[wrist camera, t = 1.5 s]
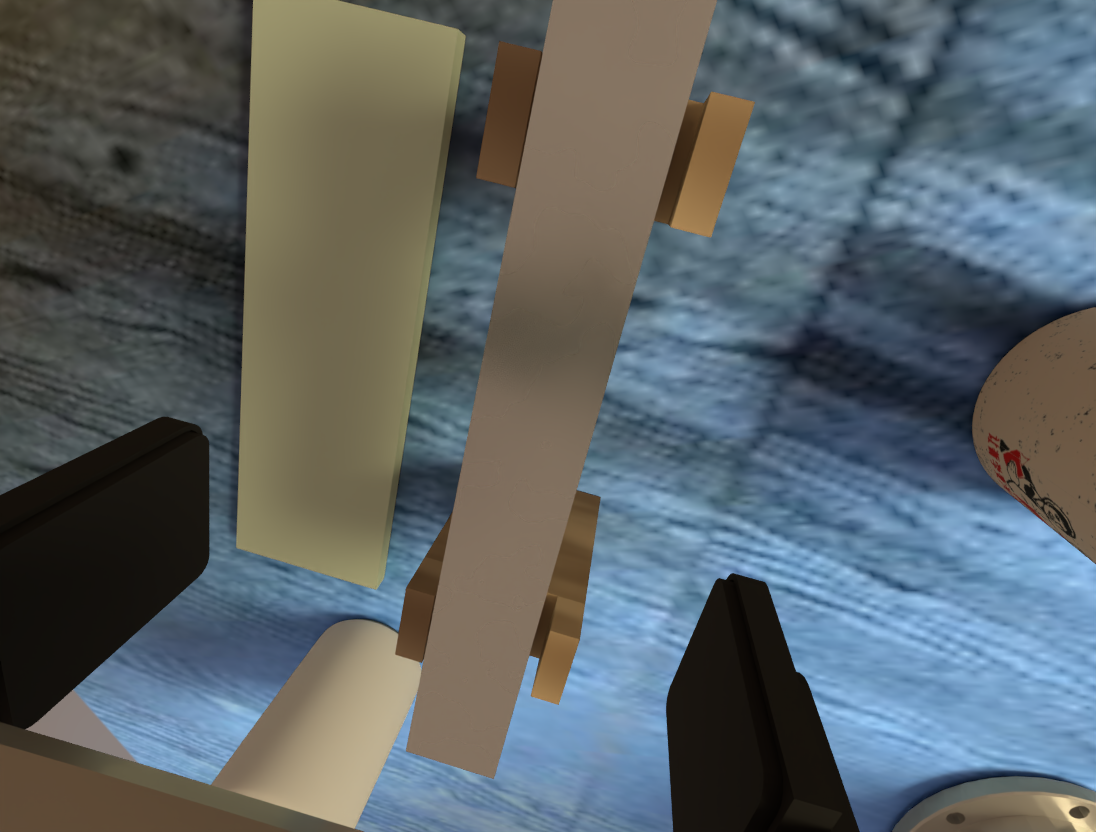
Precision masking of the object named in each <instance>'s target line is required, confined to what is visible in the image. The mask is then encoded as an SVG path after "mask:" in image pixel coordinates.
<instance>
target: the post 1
mask: <svg viewBox="0 0 1096 832" xmlns="http://www.w3.org/2000/svg"><path fill="white" fill-rule="evenodd" d="M600 498H601V497H598V496H595V495H591V494H588V493H584V492H581V491H577V490H576V494H575V497H574V501H573V504H572V508H571V511H570V515H569V518H568V522H567V525H566V529H565V532H564V536H563V539H562V543H561V546H560V550H559V553H558V557H557V560H556V564H555V567H554V571H553V574H552V578H551V581H550V585H549V588H548V592H547V595H546V599H545V602H544V606H543V609H542V613H541V616H540V619H539V623H538V626H537V630H536V633H535V637H534V640H533V644H532V647H531V651H530V654H529V655H530V656H533V657H536V658H539V663H538V667H537V671H536V676H535V680H534V685H533V689H532V693H531V696H532V697H535V698H538V699H541V700H545V701H548V702H551V703H554V704H558V705H559V702H560V699H561V696H562V693H563V689H564V686H565V683H566V680H567V677H568V674H569V671H570V668H571V665H572V662H573V659H574V656H575V653H576V650H577V646H578V643H579V640H580V635H581V628H582V621H583V614H584V607H585V600H586V593H587V587H588V580H589V573H590V566H591V559H592V552H593V545H594V539H595V532H596V525H597V518H598V511H599V504H600ZM452 514H453V512H452ZM452 514H451V515H450V517H449V518H448V520H447V522H446V523H445V525H444V527H443V528H442V530H441V532H440V533H439V535H438V537H437V538H436V540H435V541H434V543H433V545H432V546H431V548H430V550H429V551H428V553H427V555H426V556H425V558H424V559H423V561H422V563H421V564H420V566H419V568H418V569H417V571H416V573H415V574H414V576H413V578H412V579H411V581H410V582H409V584H408V586H407V587H406V593H405V598H404V604H403V610H402V616H401V622H400V628H399V634H398V639H397V645H396V651H395V655H398V656H401V657H404V658H408V659H411V660H414V661H417V662H421V663H422V661H423V659H424V656H425V651H426V646H427V641H428V636H429V631H430V626H431V621H432V615H433V610H434V605H435V600H436V595H437V590H438V585H439V580H440V575H441V570H442V565H443V559H444V554H445V549H446V544H447V539H448V534H449V529H450V524H451V519H452Z"/></svg>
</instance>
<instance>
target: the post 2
mask: <svg viewBox="0 0 1096 832" xmlns="http://www.w3.org/2000/svg"><path fill="white" fill-rule="evenodd" d="M542 55H543V53H542V52H541V51H538V50H534V49H530V48H526V47H522V46H517V45H513V44H509V43H505V42H501V41H499V47H498V53H497V58H496V64H495V70H494V76H493V82H492V88H491V94H490V100H489V105H488V111H487V117H486V123H485V129H484V135H483V141H482V147H481V152H480V158H479V164H478V170H477V176H476V178H478V179H482V180H486V181H490V182H494V183H498V184H502V185H506V186H510V187H514V188H516V187H517V182H518V177H519V172H520V167H521V162H522V157H523V152H524V147H525V142H526V136H527V131H528V126H529V121H530V116H531V111H532V106H533V101H534V96H535V91H536V85H537V80H538V75H539V70H540V65H541V60H542ZM754 103H755V102H752V101H748V100H744V99H740V98H736V97H732V96H727V95H723V94H719V93H715V92H711V93H710V95H709V96H708V98H707V99H706V101H705V102H704V103H699V102H695V101H691V100H688V103H687V107H686V110H685V114H684V117H683V121H682V124H681V127H680V131H679V134H678V138H677V141H676V145H675V148H674V152H673V155H672V159H671V162H670V166H669V169H668V173H667V176H666V180H665V183H664V187H663V190H662V194H661V197H660V201H659V204H658V208H657V211H656V215H655V218H654V221H658V222H662V223H666V224H668V225H669V226H670V227H672V228H676V229H680V230H684V231H688V232H691V233H695V234H699V235H703V236H707V237H711V235H712V232H713V229H714V226H715V223H716V220H717V217H718V214H719V211H720V208H721V205H722V201H723V198H724V195H725V192H726V189H727V186H728V183H729V180H730V177H731V174H732V171H733V168H734V165H735V162H736V159H737V155H738V152H739V149H740V146H741V143H742V140H743V137H744V134H745V131H746V128H747V125H748V122H749V119H750V116H751V112H752V109H753V106H754Z"/></svg>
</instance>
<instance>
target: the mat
mask: <svg viewBox="0 0 1096 832" xmlns="http://www.w3.org/2000/svg"><path fill="white" fill-rule="evenodd" d="M465 38H466V36H465V35H464V34H463V33H462V32H461V31H460V30H458V29H455V28H451V27H447V26H443V25H438V24H434V23H430V22H426V21H422V20H417V19H413V18H409V17H405V16H401V15H396V14H392V13H388V12H384V11H380V10H375V9H371V8H367V7H363V6H359V5H354V4H350V3H346V2H342V1H338V0H253V23H252V55H251V88H250V121H249V153H248V186H247V218H246V251H245V284H244V316H243V349H242V382H241V414H240V447H239V480H238V512H237V545H236V548H239V549H242V550H246V551H249V552H252V553H256V554H259V555H262V556H266V557H269V558H272V559H276V560H279V561H282V562H286V563H289V564H292V565H295V566H299V567H302V568H305V569H309V570H312V571H315V572H319V573H322V574H325V575H329V576H332V577H335V578H339V579H342V580H345V581H349V582H352V583H355V584H359V585H362V586H365V587H369V588H372V589H375V590H376V589H377V588H378V586H379V585H380V583H381V582H382V580H383V579H384V575H385V568H386V561H387V555H388V548H389V542H390V535H391V528H392V522H393V515H394V508H395V502H396V495H397V489H398V482H399V475H400V469H401V462H402V455H403V449H404V442H405V436H406V429H407V422H408V416H409V409H410V402H411V396H412V389H413V383H414V376H415V369H416V363H417V356H418V349H419V343H420V336H421V330H422V323H423V316H424V310H425V303H426V297H427V290H428V283H429V277H430V270H431V263H432V257H433V250H434V244H435V237H436V230H437V224H438V217H439V210H440V204H441V197H442V191H443V184H444V177H445V171H446V164H447V157H448V151H449V144H450V138H451V131H452V124H453V118H454V111H455V104H456V98H457V91H458V85H459V78H460V71H461V65H462V58H463V51H464V45H465Z"/></svg>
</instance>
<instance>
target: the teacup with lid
mask: <svg viewBox="0 0 1096 832" xmlns="http://www.w3.org/2000/svg"><path fill="white" fill-rule="evenodd" d="M972 434H973V442H974V446H975V450H976V453H977V456H978V458H979V461H980V462H981V464H982V466H983V468H984V469H985V471H986V472H987V473H988V474H989V476H990V477H991V478H992V479H993V480H994V481H995V482H996V483H997V484H998V485H999V486H1000V487H1001V488H1003V489H1004V490H1005V491H1006V492H1008V493H1009V494H1010V495H1011V496H1013V497H1014V498H1015V499H1016V500H1017V501H1019V502H1020V503H1021V504H1022V505H1024V506H1025V507H1026V508H1027V509H1029V510H1030V511H1031V512H1032V513H1033V514H1035V515H1036V516H1037V517H1038V518H1040V519H1041V520H1042V521H1043V522H1045V523H1046V524H1047V525H1048V526H1049V527H1051V528H1052V529H1053V530H1054V531H1056V532H1057V533H1058V534H1059V535H1061V536H1062V537H1063V538H1064V539H1065V540H1067V541H1068V542H1069V543H1070V544H1072V545H1073V546H1074V547H1075V548H1077V549H1078V550H1079V551H1080V552H1081V553H1083V554H1084V555H1085V556H1086V557H1088V558H1089V559H1090V560H1091V561H1092V562H1094V563H1095V564H1096V307H1094V308H1090V309H1086V310H1082V311H1079V312H1076V313H1073V314H1070V315H1067V316H1064V317H1062V318H1060V319H1057V320H1055V321H1053V322H1051V323H1049V324H1047V325H1045V326H1043V327H1041V328H1040V329H1038V330H1037V331H1035V332H1033V333H1032V334H1030V335H1029V336H1028V337H1026V338H1025V339H1023V340H1022V341H1021V342H1019V343H1018V344H1017V345H1016V346H1015V347H1014V348H1013V349H1011V350H1010V351H1009V352H1008V353H1007V354H1006V355H1005V356H1004V357H1003V358H1002V359H1001V361H1000V362H999V363H998V364H997V366H996V367H995V368H994V369H993V371H992V372H991V374H990V375H989V377H988V378H987V380H986V382H985V383H984V385H983V387H982V389H981V392H980V394H979V396H978V399H977V402H976V405H975V409H974V414H973V422H972Z"/></svg>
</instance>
